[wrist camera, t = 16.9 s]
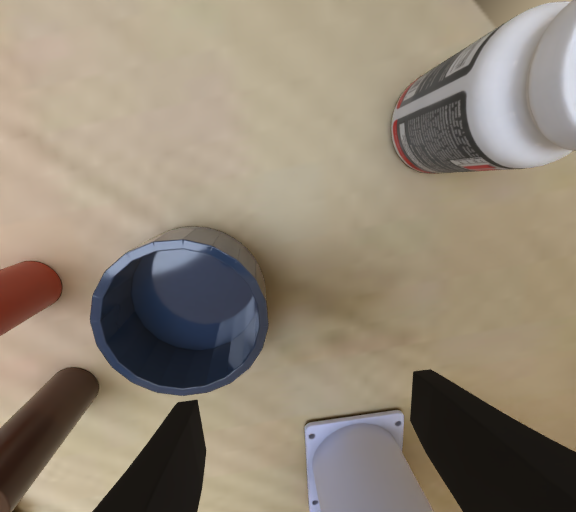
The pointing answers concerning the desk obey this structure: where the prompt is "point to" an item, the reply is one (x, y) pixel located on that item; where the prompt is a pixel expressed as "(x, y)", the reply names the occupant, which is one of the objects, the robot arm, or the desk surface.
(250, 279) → the blue cup
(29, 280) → the red peg
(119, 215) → the desk surface
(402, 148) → the pill bottle
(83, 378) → the walnut peg
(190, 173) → the desk surface
